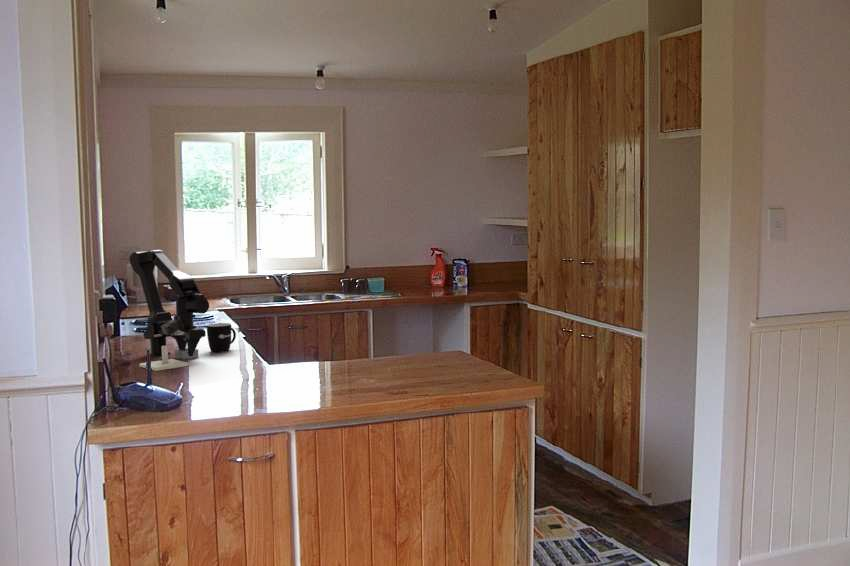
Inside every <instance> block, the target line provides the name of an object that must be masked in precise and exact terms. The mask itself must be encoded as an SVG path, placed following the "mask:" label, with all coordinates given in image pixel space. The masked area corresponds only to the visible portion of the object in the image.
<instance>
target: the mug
mask: <svg viewBox="0 0 850 566" xmlns="http://www.w3.org/2000/svg"><path fill="white" fill-rule="evenodd" d="M206 334H207V341H208V347H209V350H210V352H212V353H213V354H214V353H216V354H217V353H226V352H229V351H230V348H231V345H232V344H233V343H234V342H235V340H236V337H237V335H236V334H237V333H236V331H235V329H234V328H233V327H232V323H230V322H218V323H217V322H216V323H208V324H207V325H206Z"/></svg>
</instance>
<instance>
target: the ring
mask: <svg viewBox="0 0 850 566" xmlns="http://www.w3.org/2000/svg"><path fill="white" fill-rule="evenodd" d="M174 358H175V360H180V361H186V360H193V359H199V349H197V348H196V349H195V351H194V354H193V356H189V352H188V347H186V348H185V349H179V348H178V349H174Z"/></svg>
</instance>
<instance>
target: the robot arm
mask: <svg viewBox="0 0 850 566" xmlns="http://www.w3.org/2000/svg"><path fill="white" fill-rule="evenodd" d="M129 262H130V265H131V266H130V267H131V268H132V270H133V272H135V273H136V274H137V275H138V276H139V279H140V282H141V286H142V290H143V295H144V298H145V301H146V305H147V308H148V313H149V314H148V316H147V321H146V322H147V327H145V330H144V331H143V333H142V335H143V339H145V340H149V346H150V347H149V348H150V354H151V355H150V356H153V357H155V356H162V347H161V346H167V338H168V337H169V338H170V337H171V338H172V339H173V340H175V342H176V345H177V348H178V349H185V348H188V352H189V356H193V354H194V351H195V349H197V346H198V344H199V343H200V340H201V339H202V338H204V337H206V334H207V333H206V330H205V329H204V328H200V327H197V326H196V325H194V318H196V314H206V313H207V312H208V311H209V308H210V302H209V300H208V299H207V298H206V297H205V294H203V293H201V292H200V289H199V288H198V286H197V284H196V282H195V280H194V278H193V277H192V276H191V275H189V274H188V273H185V272H183V271H181V270H179V269H178V268H177V266H175V264H174V263H173V262H172V261H171V260H170V259H169V258H168V256H166V255H165V253H164V251H163V250H162V249H151V250H146V251H145V250H144V251H133V252H131V254H130V256H129ZM155 267H156V268H157V269H158V270H159V271H160V272H161V274H162V275H164V276H165V278H167V280H168V282H169V284H168V285H169V287H170V289H171V290H172V292H173V293H174V295H173V296H172V298H171V299H172V300H175V307H176V308H175V311H176V312H175V313H176V314H174V315H173V317H172V314H171V312H170V311H166V310H165V309H164V307H163V304H162V299H161V297H160V293H159V289H158V286H157V285H158V284H157V282H156V278H155V275H154V271H155ZM169 354H171V351H168V355H169Z"/></svg>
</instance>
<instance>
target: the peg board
mask: <svg viewBox="0 0 850 566" xmlns="http://www.w3.org/2000/svg"><path fill="white" fill-rule="evenodd" d="M161 347H162V355H161V359H162V360H155V361H150V362H151V368H152V370H151V371H155V372H156V371H164V370H170V369H177V368H182V367H189V365H190V363H189V362H187V361H184V360H180V359H176V358H175V359H174V358H170V359H169V354H168V352H169V347H168V345H166V346H161ZM146 363H147V362H141V363H139V367H140V368H144V369H147V368H146Z"/></svg>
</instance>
